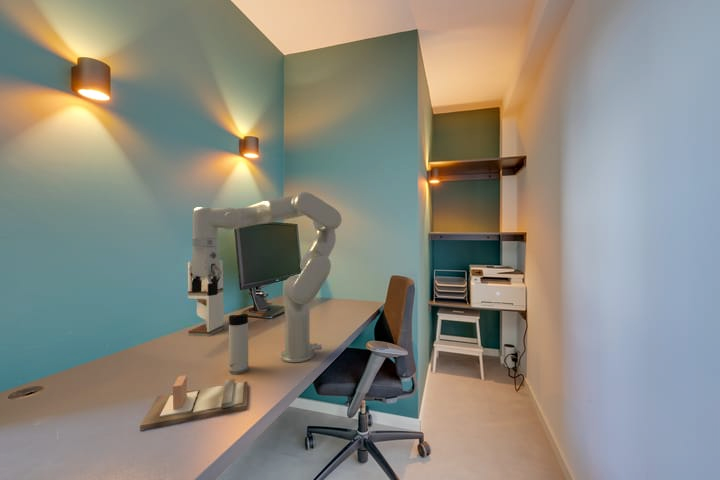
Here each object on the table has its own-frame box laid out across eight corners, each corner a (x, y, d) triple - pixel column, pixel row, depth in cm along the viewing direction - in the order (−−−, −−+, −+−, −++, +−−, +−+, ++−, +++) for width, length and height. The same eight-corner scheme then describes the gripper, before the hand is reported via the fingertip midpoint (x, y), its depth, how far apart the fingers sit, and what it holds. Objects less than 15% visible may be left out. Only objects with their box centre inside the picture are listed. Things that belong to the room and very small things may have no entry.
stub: (198, 392, 85) (197, 370, 85) (191, 411, 76) (191, 387, 76) (170, 397, 83) (170, 374, 82) (159, 417, 73) (159, 392, 73)
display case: (204, 328, 150) (203, 260, 150) (223, 328, 149) (222, 260, 148) (188, 335, 139) (187, 262, 139) (208, 336, 137) (208, 262, 137)
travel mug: (229, 376, 97) (229, 317, 97) (228, 368, 103) (228, 312, 103) (249, 372, 100) (249, 314, 100) (247, 364, 106) (247, 310, 106)
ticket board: (247, 385, 92) (247, 376, 92) (246, 409, 78) (246, 399, 78) (157, 400, 83) (157, 390, 83) (140, 430, 70) (140, 419, 70)
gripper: (230, 244, 98) (229, 294, 98) (202, 243, 107) (201, 289, 107) (208, 244, 91) (207, 298, 91) (180, 243, 100) (179, 292, 100)
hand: (204, 293), depth 99 cm, fingers open, 9 cm apart
